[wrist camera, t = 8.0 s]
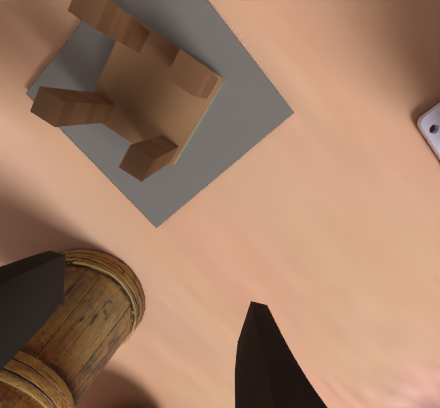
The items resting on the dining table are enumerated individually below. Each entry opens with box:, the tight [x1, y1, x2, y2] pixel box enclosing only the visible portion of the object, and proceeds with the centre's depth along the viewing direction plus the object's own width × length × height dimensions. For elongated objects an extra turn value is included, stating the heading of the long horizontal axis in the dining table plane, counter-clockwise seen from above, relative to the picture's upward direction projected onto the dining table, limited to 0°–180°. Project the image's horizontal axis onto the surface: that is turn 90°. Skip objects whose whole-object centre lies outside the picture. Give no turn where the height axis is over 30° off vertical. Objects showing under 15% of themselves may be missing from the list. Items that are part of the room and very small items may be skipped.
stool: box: [31, 0, 225, 182], centre depth 14 cm, size 6×6×6 cm
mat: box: [26, 0, 294, 228], centre depth 18 cm, size 12×12×1 cm
